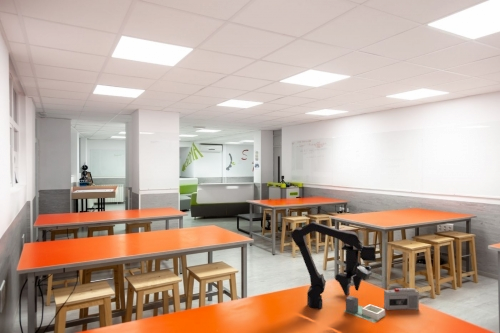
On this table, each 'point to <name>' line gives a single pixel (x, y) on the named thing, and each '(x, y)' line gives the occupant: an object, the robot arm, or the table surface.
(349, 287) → the mechanical component
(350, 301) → the plug
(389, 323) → the table surface
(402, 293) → the cassette player
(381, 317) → the board
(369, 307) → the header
